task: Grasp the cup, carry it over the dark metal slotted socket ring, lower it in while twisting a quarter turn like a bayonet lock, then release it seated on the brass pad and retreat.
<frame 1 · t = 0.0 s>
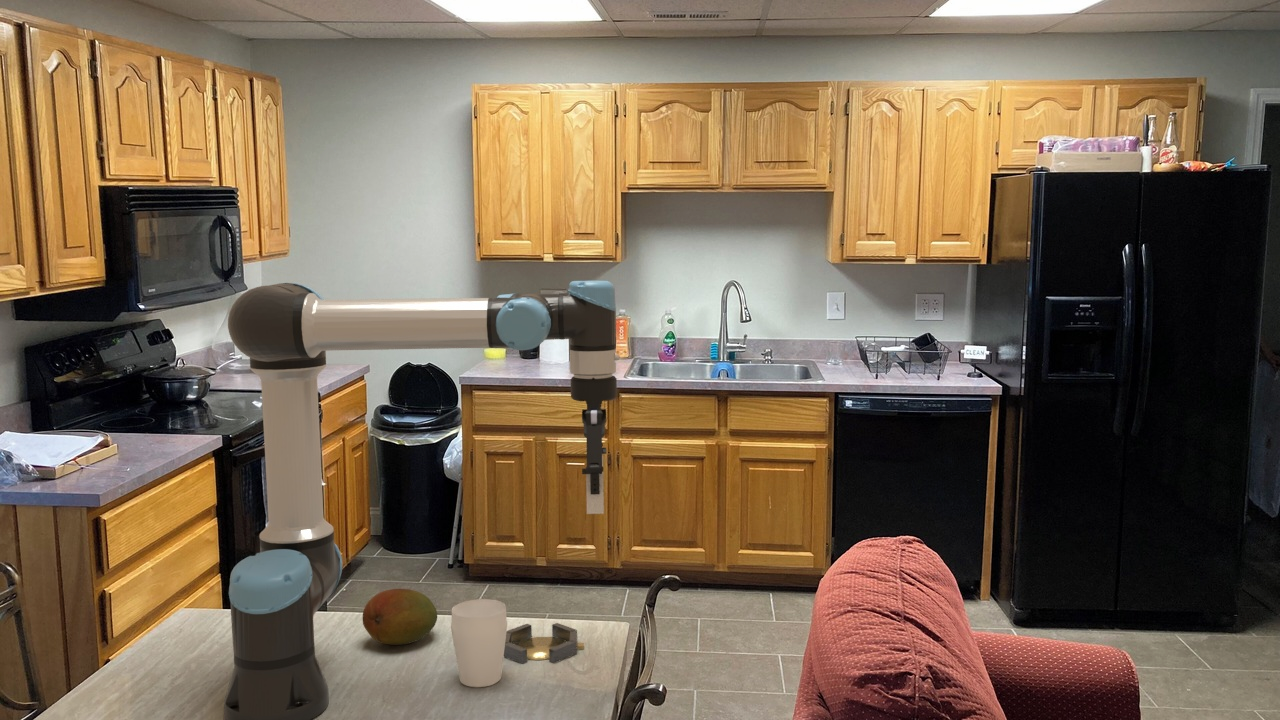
hand: (595, 502, 167), 28 cm above the table, fingers open, 13 cm apart
socket: (540, 648, 177), on the table
fruit: (402, 642, 182), on the table
cup: (480, 680, 165), on the table
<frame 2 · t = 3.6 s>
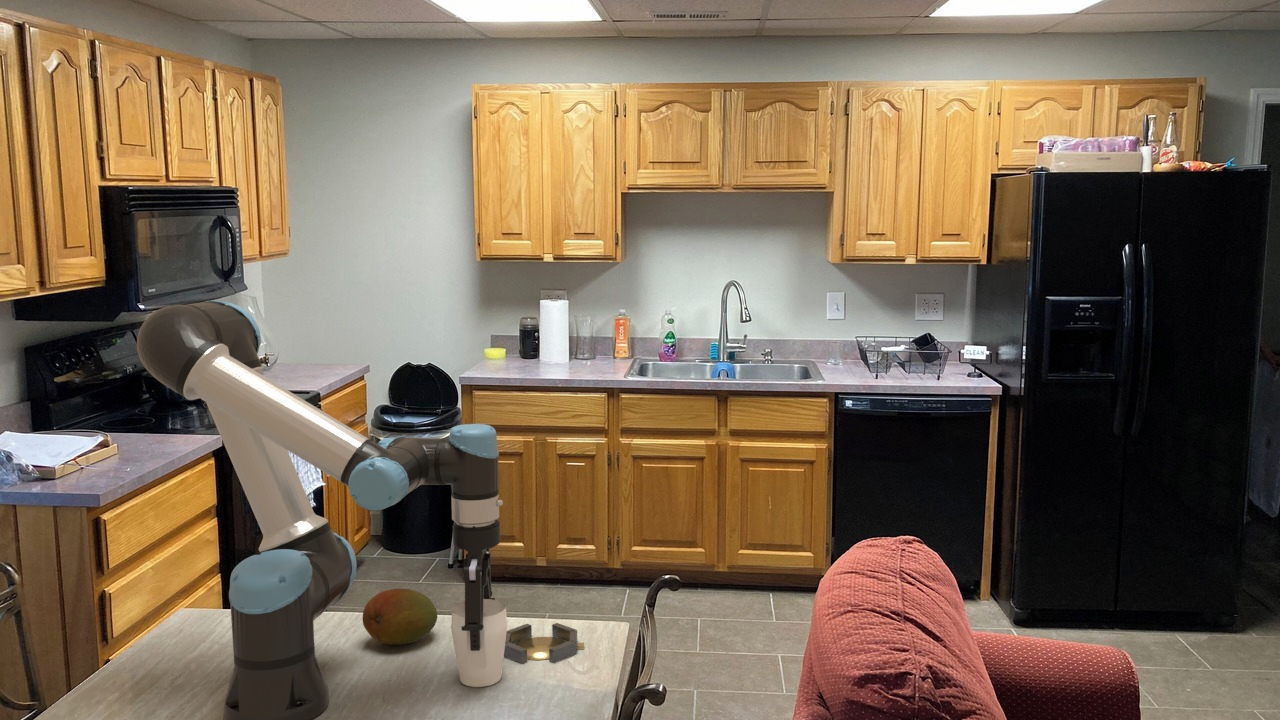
hand: (480, 655, 165), 4 cm above the table, fingers closed on cup, 9 cm apart
cup: (481, 680, 165), on the table, touching gripper
everything else where it was.
when the fingers open (4 cm above the table, at t = 9.0 s): cup stays where it is, resting on socket.
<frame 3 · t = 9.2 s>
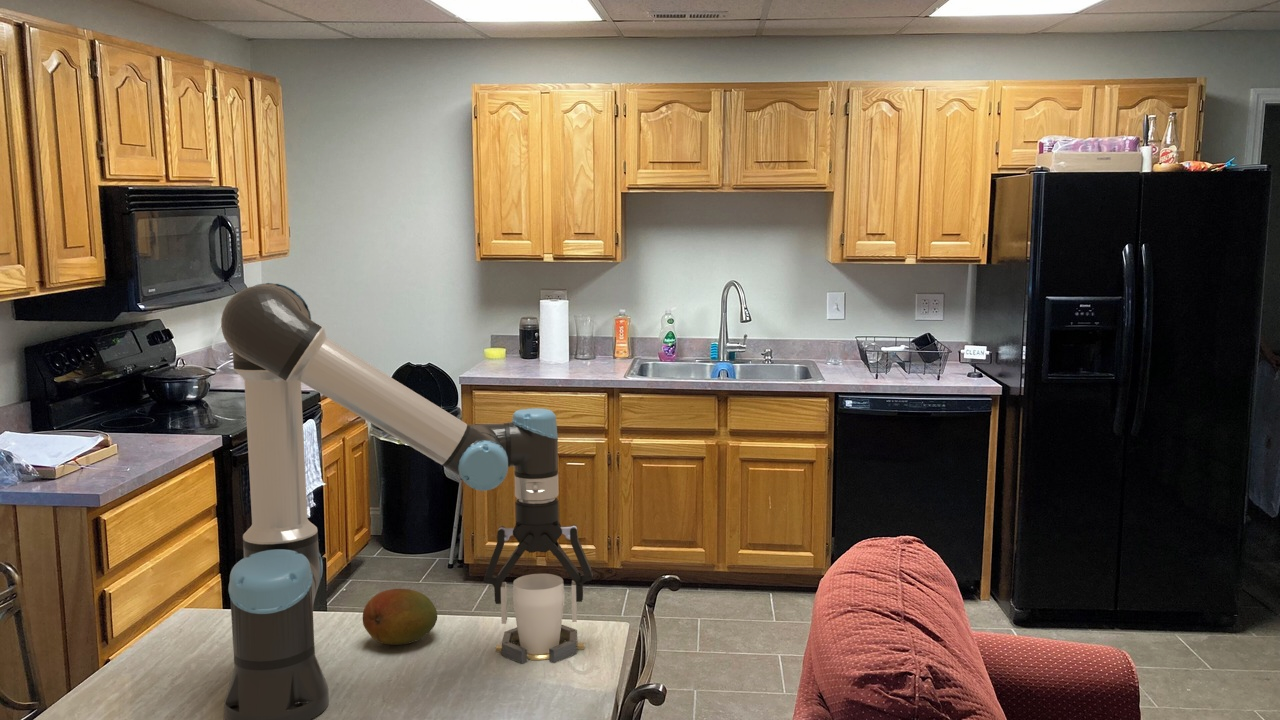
hand: (539, 620, 177), 5 cm above the table, fingers open, 11 cm apart
cup: (539, 648, 177), resting on socket
everything else where it was.
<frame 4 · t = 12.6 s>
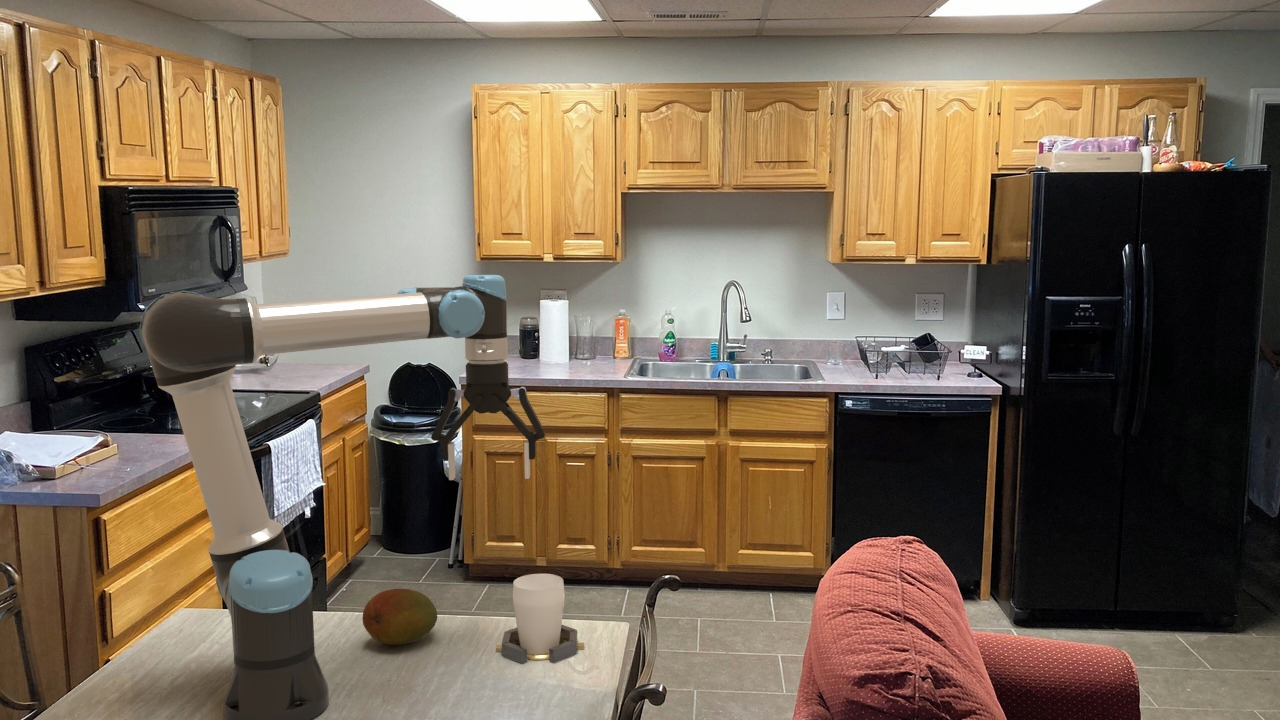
hand: (490, 477, 183), 29 cm above the table, fingers open, 13 cm apart
nothing on the table moved.
at the end: cup 0.1 cm from the socket (horizontally); cup tilted 0°; the gripper is holding nothing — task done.
